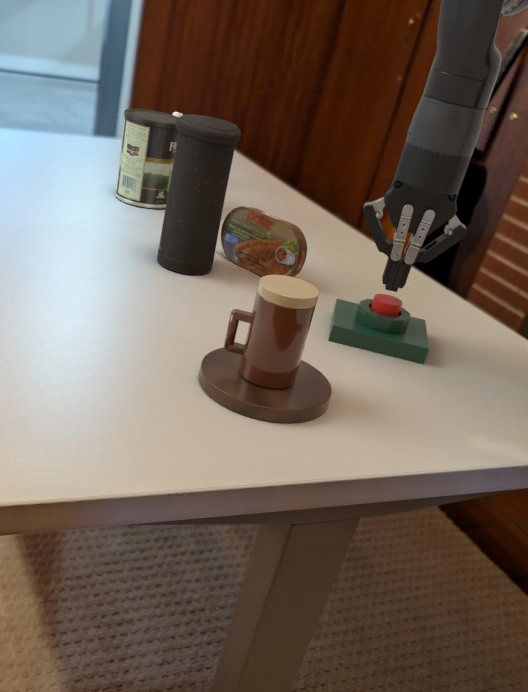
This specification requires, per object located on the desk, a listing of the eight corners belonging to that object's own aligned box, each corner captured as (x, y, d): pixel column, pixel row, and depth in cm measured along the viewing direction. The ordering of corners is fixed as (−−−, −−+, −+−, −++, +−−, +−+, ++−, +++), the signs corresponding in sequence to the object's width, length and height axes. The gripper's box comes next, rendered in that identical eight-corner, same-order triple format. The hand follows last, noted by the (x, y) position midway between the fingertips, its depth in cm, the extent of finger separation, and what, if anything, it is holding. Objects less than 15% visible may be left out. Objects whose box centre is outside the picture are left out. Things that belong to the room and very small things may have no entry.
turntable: (331, 376, 85) (335, 365, 85) (323, 436, 74) (327, 423, 73) (212, 346, 87) (214, 334, 86) (185, 400, 75) (188, 387, 74)
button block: (419, 334, 101) (429, 307, 99) (423, 365, 93) (434, 335, 91) (332, 313, 102) (340, 285, 100) (328, 341, 94) (336, 311, 92)
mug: (297, 370, 81) (321, 283, 76) (291, 394, 76) (316, 303, 71) (225, 351, 82) (244, 264, 77) (214, 374, 77) (233, 283, 72)
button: (397, 310, 97) (402, 298, 96) (398, 320, 94) (402, 307, 93) (370, 304, 97) (374, 291, 96) (370, 313, 94) (374, 300, 93)
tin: (215, 253, 115) (225, 198, 111) (229, 251, 117) (240, 197, 113) (287, 291, 107) (302, 232, 102) (301, 288, 109) (316, 231, 104)
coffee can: (176, 199, 138) (190, 117, 130) (165, 213, 129) (179, 126, 121) (122, 187, 138) (132, 105, 131) (107, 200, 129) (117, 112, 122)
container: (207, 257, 113) (234, 115, 103) (219, 279, 106) (250, 129, 95) (151, 250, 111) (172, 105, 101) (159, 272, 104) (183, 119, 93)
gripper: (381, 136, 82) (337, 285, 91) (502, 163, 81) (445, 312, 90) (381, 126, 89) (340, 267, 98) (493, 152, 87) (441, 292, 97)
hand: (391, 288), depth 94 cm, fingers closed
